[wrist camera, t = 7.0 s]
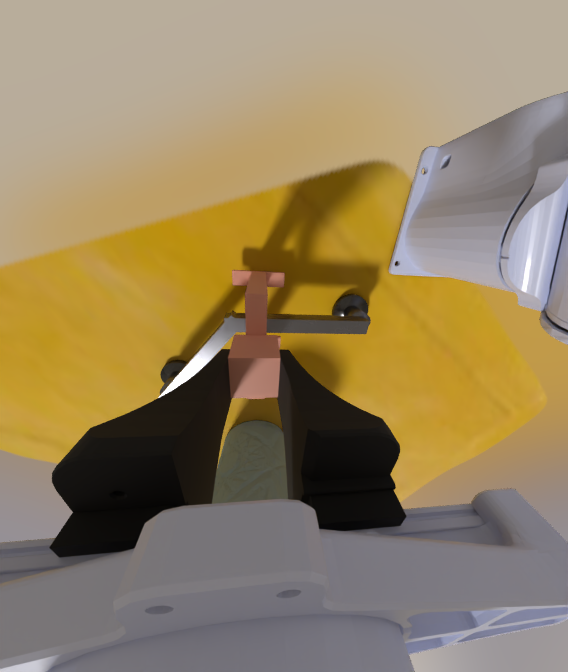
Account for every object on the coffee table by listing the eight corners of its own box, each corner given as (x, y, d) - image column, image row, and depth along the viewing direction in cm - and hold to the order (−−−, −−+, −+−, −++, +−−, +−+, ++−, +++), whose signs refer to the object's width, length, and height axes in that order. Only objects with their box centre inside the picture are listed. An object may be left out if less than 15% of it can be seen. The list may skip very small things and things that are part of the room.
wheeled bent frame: (141, 285, 19) (109, 299, 15) (369, 294, 21) (393, 308, 17) (166, 386, 24) (147, 416, 20) (346, 384, 26) (361, 410, 22)
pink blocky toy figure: (284, 272, 18) (305, 310, 9) (279, 346, 21) (291, 428, 12) (232, 269, 17) (201, 308, 9) (236, 345, 21) (215, 430, 12)
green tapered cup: (282, 462, 32) (292, 575, 22) (216, 462, 31) (192, 583, 20) (294, 416, 28) (314, 529, 17) (218, 413, 26) (188, 535, 16)
